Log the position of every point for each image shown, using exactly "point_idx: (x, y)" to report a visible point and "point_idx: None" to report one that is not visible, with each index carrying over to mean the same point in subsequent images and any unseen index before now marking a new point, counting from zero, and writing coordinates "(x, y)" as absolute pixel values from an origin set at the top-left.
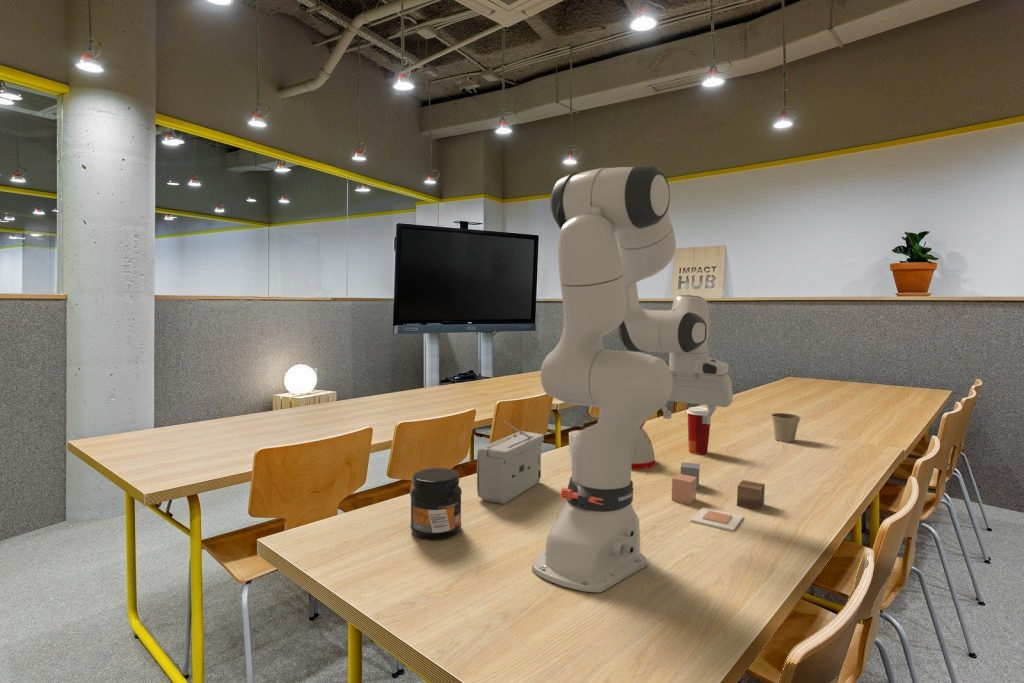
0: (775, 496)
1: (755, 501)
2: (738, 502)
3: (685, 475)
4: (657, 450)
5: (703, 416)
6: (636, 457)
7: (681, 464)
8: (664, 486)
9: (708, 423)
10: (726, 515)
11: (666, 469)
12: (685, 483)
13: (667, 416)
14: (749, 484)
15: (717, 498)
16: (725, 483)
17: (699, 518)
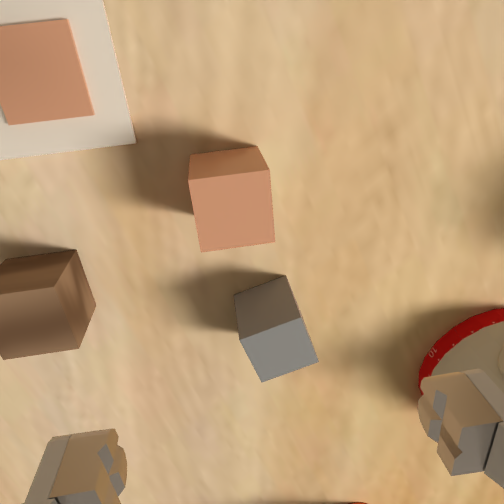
0: (47, 385)
1: (7, 271)
2: (68, 256)
3: (244, 241)
4: (444, 472)
5: (86, 493)
6: (477, 352)
7: (309, 340)
8: (329, 251)
9: (51, 439)
10: (22, 112)
11: (376, 376)
12: (210, 173)
13: (450, 386)
14: (33, 322)
15: (153, 266)
16: (198, 384)
17: (78, 14)
